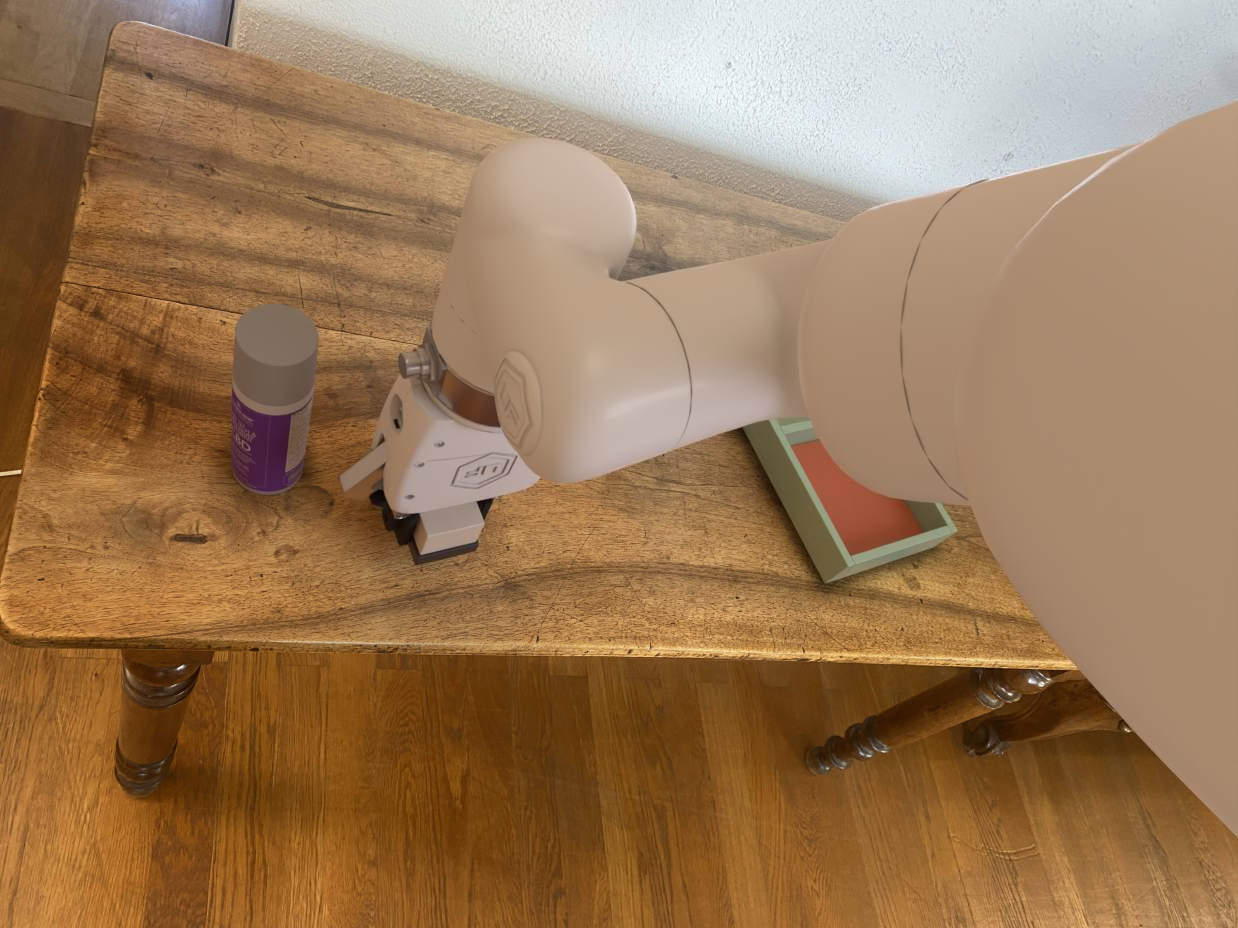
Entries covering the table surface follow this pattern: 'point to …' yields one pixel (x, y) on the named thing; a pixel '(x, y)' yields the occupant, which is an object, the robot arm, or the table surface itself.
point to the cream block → (446, 533)
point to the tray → (840, 504)
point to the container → (272, 396)
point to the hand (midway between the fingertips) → (433, 517)
